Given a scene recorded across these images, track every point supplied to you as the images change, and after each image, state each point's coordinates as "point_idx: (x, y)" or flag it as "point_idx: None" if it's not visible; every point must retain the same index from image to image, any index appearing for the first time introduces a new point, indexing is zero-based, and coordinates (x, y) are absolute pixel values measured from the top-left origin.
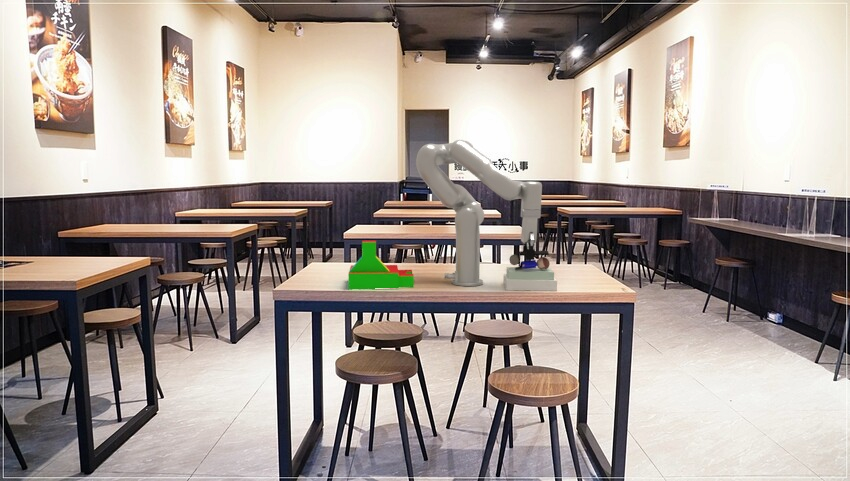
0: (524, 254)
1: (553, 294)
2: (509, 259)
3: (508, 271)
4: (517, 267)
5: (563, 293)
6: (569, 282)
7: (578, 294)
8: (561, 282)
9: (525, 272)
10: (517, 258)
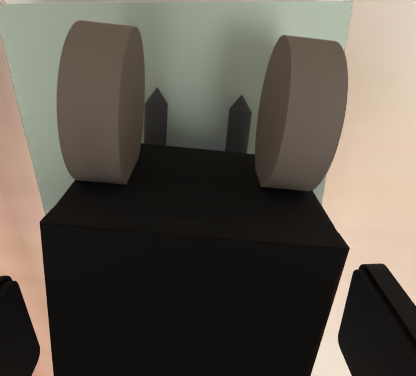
0: (50, 304)
1: (3, 272)
2: (285, 35)
3: (91, 3)
4: (232, 129)
5: (45, 315)
6: (327, 361)
7: (41, 364)
8: (330, 333)
9: (41, 185)
10: (74, 164)
